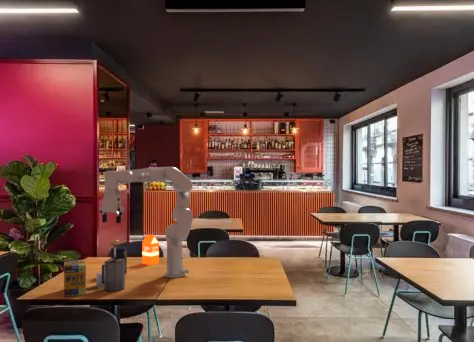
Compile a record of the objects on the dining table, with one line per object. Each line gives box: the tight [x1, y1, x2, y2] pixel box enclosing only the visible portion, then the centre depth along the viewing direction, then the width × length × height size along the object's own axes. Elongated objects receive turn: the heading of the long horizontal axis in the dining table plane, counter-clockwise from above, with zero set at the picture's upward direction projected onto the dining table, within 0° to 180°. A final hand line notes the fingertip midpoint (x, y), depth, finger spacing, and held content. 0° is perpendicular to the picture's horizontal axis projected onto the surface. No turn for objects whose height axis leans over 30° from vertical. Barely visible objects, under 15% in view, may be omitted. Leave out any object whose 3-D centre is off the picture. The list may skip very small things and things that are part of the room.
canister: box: [110, 245, 128, 275], centre depth 246 cm, size 10×10×18 cm
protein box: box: [63, 259, 87, 298], centre depth 209 cm, size 10×15×16 cm
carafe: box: [101, 258, 126, 293], centre depth 215 cm, size 12×10×16 cm
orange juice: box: [141, 234, 160, 266], centre depth 278 cm, size 8×9×20 cm
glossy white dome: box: [95, 271, 105, 288], centre depth 221 cm, size 7×7×7 cm
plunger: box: [110, 239, 120, 263], centre depth 215 cm, size 7×7×13 cm
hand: (111, 222), depth 224 cm, fingers open, 9 cm apart
